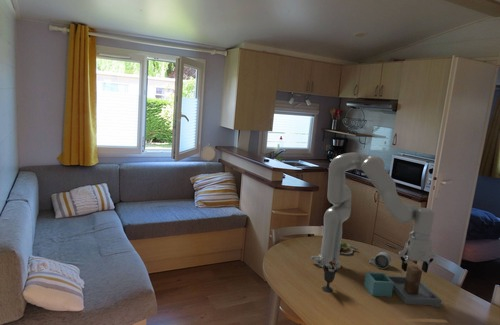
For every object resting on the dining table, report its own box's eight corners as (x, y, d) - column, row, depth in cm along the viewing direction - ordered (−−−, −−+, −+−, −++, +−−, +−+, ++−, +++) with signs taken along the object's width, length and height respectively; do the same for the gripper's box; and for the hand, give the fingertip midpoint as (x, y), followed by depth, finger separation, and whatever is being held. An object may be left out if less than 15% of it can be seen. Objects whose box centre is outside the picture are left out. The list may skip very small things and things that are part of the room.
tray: (404, 305, 150) (406, 298, 149) (384, 282, 170) (385, 275, 169) (440, 307, 151) (441, 299, 151) (415, 283, 171) (416, 276, 170)
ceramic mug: (390, 265, 189) (392, 252, 188) (388, 270, 182) (390, 257, 181) (370, 259, 194) (372, 246, 193) (367, 265, 188) (369, 251, 186)
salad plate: (357, 247, 211) (358, 240, 211) (357, 258, 195) (358, 251, 194) (325, 241, 217) (326, 234, 216) (322, 251, 200) (323, 244, 199)
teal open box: (371, 297, 154) (374, 282, 153) (363, 286, 163) (366, 272, 162) (391, 298, 155) (393, 282, 154) (382, 287, 164) (384, 272, 163)
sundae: (335, 287, 160) (339, 257, 158) (334, 294, 154) (338, 263, 151) (321, 284, 162) (325, 254, 160) (319, 291, 156) (323, 259, 153)
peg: (408, 294, 158) (412, 270, 156) (403, 289, 162) (407, 266, 160) (417, 294, 158) (422, 271, 156) (412, 289, 163) (416, 266, 161)
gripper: (406, 237, 151) (399, 273, 154) (444, 239, 153) (436, 275, 156) (398, 231, 159) (391, 265, 162) (434, 233, 160) (427, 267, 163)
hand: (413, 270), depth 159 cm, fingers open, 9 cm apart
